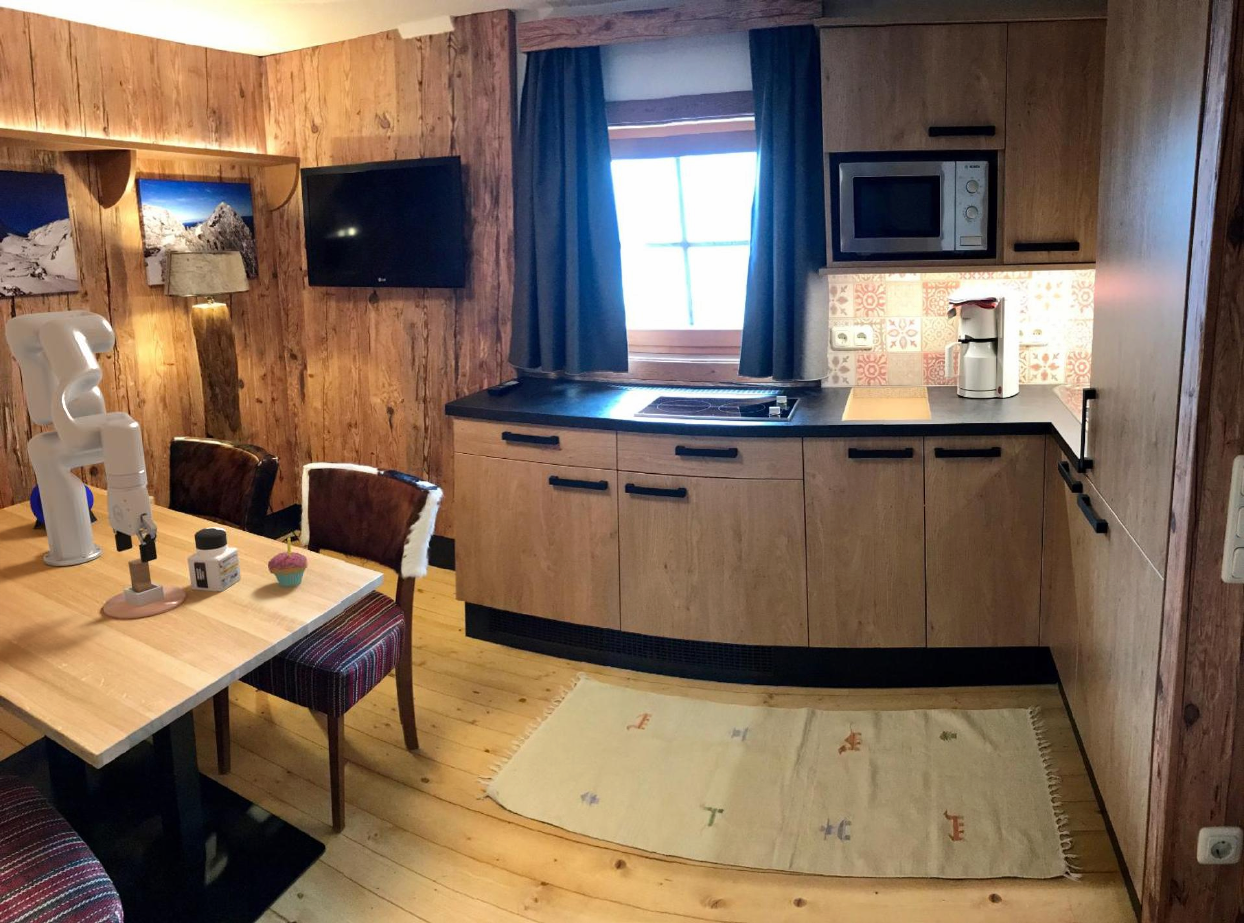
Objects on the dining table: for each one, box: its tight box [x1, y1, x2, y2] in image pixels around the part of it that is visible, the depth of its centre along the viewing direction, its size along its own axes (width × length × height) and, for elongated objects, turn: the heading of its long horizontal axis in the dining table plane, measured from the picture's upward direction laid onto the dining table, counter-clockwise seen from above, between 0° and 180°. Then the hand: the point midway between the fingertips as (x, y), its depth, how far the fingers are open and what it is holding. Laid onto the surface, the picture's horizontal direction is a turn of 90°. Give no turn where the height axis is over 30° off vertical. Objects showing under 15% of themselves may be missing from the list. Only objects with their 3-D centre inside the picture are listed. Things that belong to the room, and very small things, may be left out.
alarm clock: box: [29, 483, 98, 530], centre depth 264 cm, size 12×12×15 cm
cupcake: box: [267, 534, 309, 588], centre depth 221 cm, size 9×8×12 cm
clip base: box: [103, 581, 186, 620], centre depth 212 cm, size 16×16×4 cm
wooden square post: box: [128, 557, 152, 593], centre depth 211 cm, size 3×3×9 cm
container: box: [187, 526, 242, 593], centre depth 221 cm, size 8×8×13 cm
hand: (136, 555), depth 210 cm, fingers open, 9 cm apart
